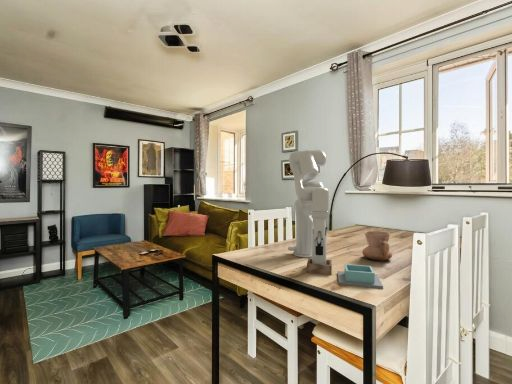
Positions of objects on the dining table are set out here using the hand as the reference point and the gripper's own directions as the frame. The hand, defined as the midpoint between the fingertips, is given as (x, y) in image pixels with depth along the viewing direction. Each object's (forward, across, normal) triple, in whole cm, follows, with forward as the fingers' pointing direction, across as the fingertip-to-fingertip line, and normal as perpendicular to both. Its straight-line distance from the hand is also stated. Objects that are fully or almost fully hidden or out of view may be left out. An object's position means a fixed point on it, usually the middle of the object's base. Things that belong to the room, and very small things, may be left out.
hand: (319, 252), depth 125 cm
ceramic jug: (+9, -28, +29) cm, 41 cm away
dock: (+8, +9, +16) cm, 20 cm away
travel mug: (+8, 0, 0) cm, 8 cm away
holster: (+8, 0, 0) cm, 8 cm away
